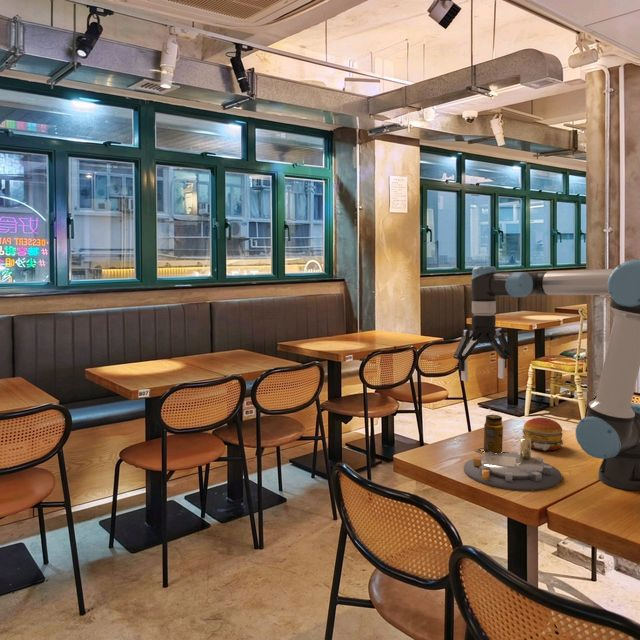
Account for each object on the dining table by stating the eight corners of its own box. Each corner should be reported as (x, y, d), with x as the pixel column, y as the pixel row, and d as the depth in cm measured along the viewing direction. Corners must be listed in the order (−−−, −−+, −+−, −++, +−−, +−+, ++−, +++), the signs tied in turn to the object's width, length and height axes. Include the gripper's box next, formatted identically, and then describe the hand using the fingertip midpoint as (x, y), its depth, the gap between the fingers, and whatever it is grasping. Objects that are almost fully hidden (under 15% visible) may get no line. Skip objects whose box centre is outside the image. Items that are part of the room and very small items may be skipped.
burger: (560, 442, 218) (561, 415, 217) (565, 454, 205) (566, 425, 204) (520, 440, 221) (521, 412, 220) (523, 451, 208) (524, 422, 207)
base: (579, 475, 184) (580, 464, 184) (525, 498, 167) (526, 485, 167) (500, 452, 206) (500, 442, 206) (444, 470, 189) (445, 459, 188)
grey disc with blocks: (565, 471, 185) (566, 444, 184) (522, 488, 171) (523, 459, 170) (502, 452, 202) (503, 428, 201) (458, 467, 188) (459, 441, 187)
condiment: (507, 452, 207) (508, 417, 206) (490, 456, 203) (491, 420, 201) (490, 446, 213) (491, 412, 212) (473, 450, 209) (474, 416, 207)
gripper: (510, 312, 206) (509, 375, 208) (443, 314, 199) (442, 380, 201) (524, 313, 199) (523, 379, 201) (454, 316, 192) (454, 384, 194)
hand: (482, 379), depth 201 cm, fingers open, 13 cm apart
